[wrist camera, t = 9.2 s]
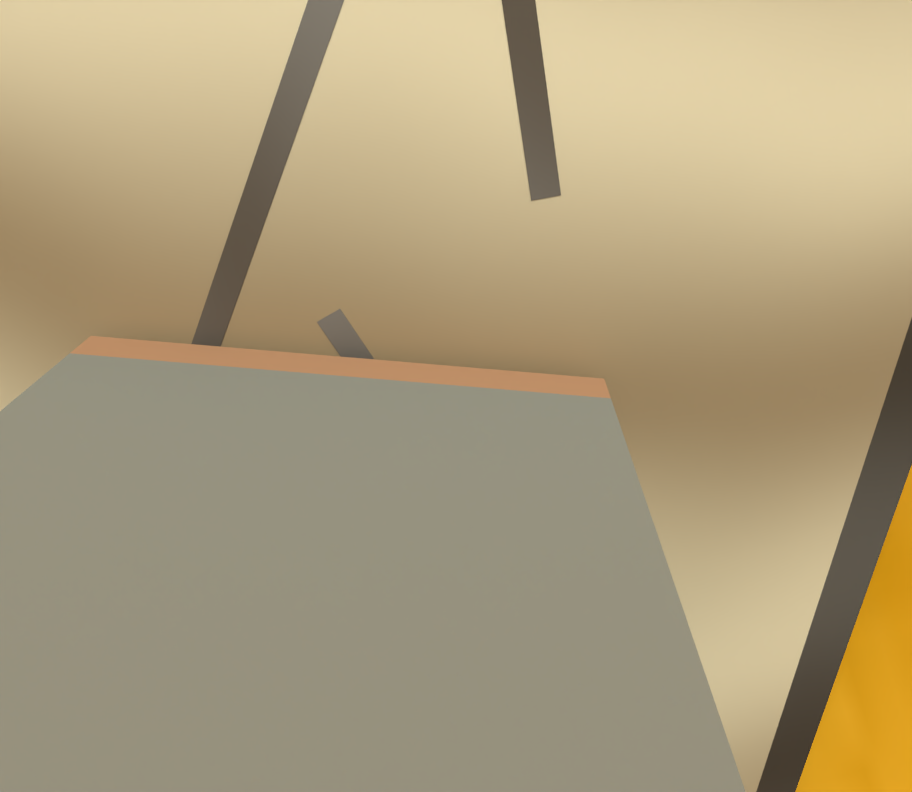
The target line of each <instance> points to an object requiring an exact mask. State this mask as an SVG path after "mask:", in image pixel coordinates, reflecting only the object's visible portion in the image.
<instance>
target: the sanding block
mask: <svg viewBox="0 0 912 792" xmlns="http://www.w3.org/2000/svg"><path fill="white" fill-rule="evenodd" d="M0 792H745V789H744V786H743V783H742V780H741V777H740V774H739V771H738V768H737V765H736V762H735V759H734V756H733V754H732V751H731V748H730V745H729V742H728V739H727V736H726V733H725V730H724V727H723V724H722V721H721V718H720V716H719V713H718V710H717V707H716V704H715V701H714V698H713V695H712V692H711V689H710V686H709V683H708V680H707V678H706V675H705V672H704V669H703V666H702V663H701V660H700V657H699V654H698V651H697V648H696V645H695V643H694V640H693V637H692V634H691V631H690V628H689V625H688V622H687V619H686V616H685V613H684V610H683V607H682V605H681V602H680V599H679V596H678V593H677V590H676V587H675V584H674V581H673V578H672V575H671V572H670V569H669V567H668V564H667V561H666V558H665V555H664V552H663V549H662V546H661V543H660V540H659V537H658V534H657V531H656V529H655V526H654V523H653V520H652V517H651V514H650V511H649V508H648V505H647V502H646V499H645V496H644V493H643V491H642V488H641V485H640V482H639V479H638V476H637V473H636V470H635V467H634V464H633V461H632V458H631V456H630V453H629V450H628V447H627V444H626V441H625V438H624V435H623V432H622V429H621V426H620V423H619V420H618V418H617V415H616V412H615V409H614V406H613V403H612V400H611V397H610V394H609V391H608V388H607V385H606V382H605V380H604V379H603V378H591V377H579V376H567V375H555V374H543V373H531V372H519V371H507V370H495V369H483V368H471V367H459V366H447V365H435V364H423V363H411V362H399V361H387V360H375V359H363V358H351V357H339V356H327V355H315V354H303V353H291V352H279V351H267V350H255V349H243V348H231V347H220V346H208V345H196V344H184V343H172V342H160V341H148V340H136V339H124V338H112V337H100V336H90V337H89V338H88V339H86V340H85V341H84V342H83V343H81V344H80V345H79V346H78V347H77V348H75V349H74V350H73V351H72V352H71V353H69V354H68V355H67V356H66V357H65V358H63V359H62V360H61V361H60V362H59V363H57V364H56V365H55V366H54V367H53V368H51V369H50V370H49V371H48V372H47V373H45V374H44V375H43V376H42V377H41V378H39V379H38V380H37V381H36V382H35V383H33V384H32V385H31V386H30V387H29V388H27V389H26V390H25V391H24V392H23V393H21V394H20V395H19V396H18V397H17V398H15V399H14V400H13V401H12V402H11V403H9V404H8V405H7V406H6V407H5V408H3V409H2V410H1V411H0Z"/></svg>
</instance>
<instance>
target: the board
mask: <svg viewBox="0 0 912 792" xmlns="http://www.w3.org/2000/svg"><path fill="white" fill-rule="evenodd" d="M90 336H100V337H112V338H124V339H136V340H148V341H160V342H172V343H184V344H196V345H208V346H220V347H231V348H243V349H255V350H267V351H279V352H291V353H303V354H315V355H327V356H339V357H351V358H363V359H375V360H387V361H399V362H411V363H423V364H435V365H447V366H459V367H471V368H483V369H495V370H507V371H519V372H531V373H543V374H555V375H567V376H579V377H591V378H603V379H604V380H605V382H606V385H607V388H608V391H609V394H610V397H611V400H612V403H613V406H614V409H615V412H616V415H617V418H618V420H619V423H620V426H621V429H622V432H623V435H624V438H625V441H626V444H627V447H628V450H629V453H630V456H631V458H632V461H633V464H634V467H635V470H636V473H637V476H638V479H639V482H640V485H641V488H642V491H643V493H644V496H645V499H646V502H647V505H648V508H649V511H650V514H651V517H652V520H653V523H654V526H655V529H656V531H657V534H658V537H659V540H660V543H661V546H662V549H663V552H664V555H665V558H666V561H667V564H668V567H669V569H670V572H671V575H672V578H673V581H674V584H675V587H676V590H677V593H678V596H679V599H680V602H681V605H682V607H683V610H684V613H685V616H686V619H687V622H688V625H689V628H690V631H691V634H692V637H693V640H694V643H695V645H696V648H697V651H698V654H699V657H700V660H701V663H702V666H703V669H704V672H705V675H706V678H707V680H708V683H709V686H710V689H711V692H712V695H713V698H714V701H715V704H716V707H717V710H718V713H719V716H720V718H721V721H722V724H723V727H724V730H725V733H726V736H727V739H728V742H729V745H730V748H731V751H732V754H733V756H734V759H735V762H736V765H737V768H738V771H739V774H740V777H741V780H742V783H743V786H744V789H745V792H795V790H796V788H797V785H798V782H799V779H800V776H801V774H802V771H803V768H804V765H805V762H806V760H807V757H808V754H809V751H810V748H811V746H812V743H813V740H814V737H815V734H816V731H817V729H818V726H819V723H820V720H821V717H822V715H823V712H824V709H825V706H826V703H827V701H828V698H829V695H830V692H831V689H832V687H833V684H834V681H835V678H836V675H837V672H838V670H839V667H840V664H841V661H842V658H843V656H844V653H845V650H846V647H847V644H848V642H849V639H850V636H851V633H852V630H853V628H854V625H855V622H856V619H857V616H858V614H859V611H860V608H861V605H862V602H863V599H864V597H865V594H866V591H867V588H868V585H869V583H870V580H871V577H872V574H873V571H874V569H875V566H876V563H877V560H878V557H879V555H880V552H881V549H882V546H883V543H884V540H885V538H886V535H887V532H888V529H889V526H890V524H891V521H892V518H893V515H894V512H895V510H896V507H897V504H898V501H899V498H900V496H901V493H902V490H903V487H904V484H905V482H906V479H907V476H908V473H909V470H910V467H911V465H912V0H0V411H1V410H2V409H3V408H5V407H6V406H7V405H8V404H9V403H11V402H12V401H13V400H14V399H15V398H17V397H18V396H19V395H20V394H21V393H23V392H24V391H25V390H26V389H27V388H29V387H30V386H31V385H32V384H33V383H35V382H36V381H37V380H38V379H39V378H41V377H42V376H43V375H44V374H45V373H47V372H48V371H49V370H50V369H51V368H53V367H54V366H55V365H56V364H57V363H59V362H60V361H61V360H62V359H63V358H65V357H66V356H67V355H68V354H69V353H71V352H72V351H73V350H74V349H75V348H77V347H78V346H79V345H80V344H81V343H83V342H84V341H85V340H86V339H88V338H89V337H90Z"/></svg>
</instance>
